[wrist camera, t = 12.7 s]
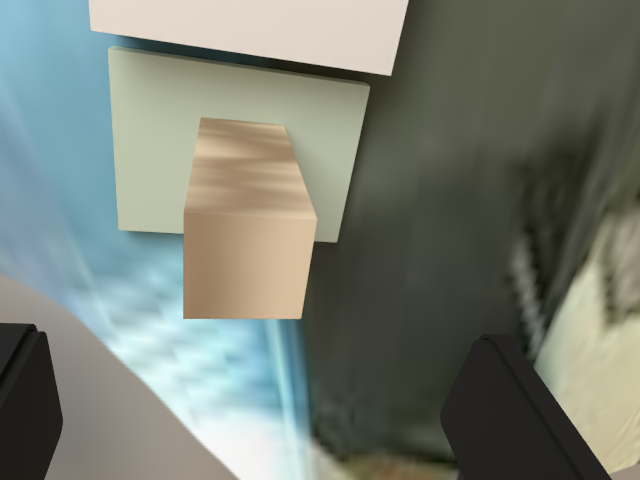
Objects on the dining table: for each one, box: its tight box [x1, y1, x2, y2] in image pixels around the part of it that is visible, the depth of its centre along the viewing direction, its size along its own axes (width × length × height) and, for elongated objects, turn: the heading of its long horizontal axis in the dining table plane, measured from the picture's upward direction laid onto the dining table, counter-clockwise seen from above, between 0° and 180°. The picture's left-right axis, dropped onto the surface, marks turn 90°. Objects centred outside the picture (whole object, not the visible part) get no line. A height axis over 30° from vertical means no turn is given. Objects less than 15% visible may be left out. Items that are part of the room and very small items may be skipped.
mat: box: [108, 46, 370, 242], centre depth 23 cm, size 12×9×1 cm
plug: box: [183, 117, 317, 319], centre depth 19 cm, size 4×4×10 cm
